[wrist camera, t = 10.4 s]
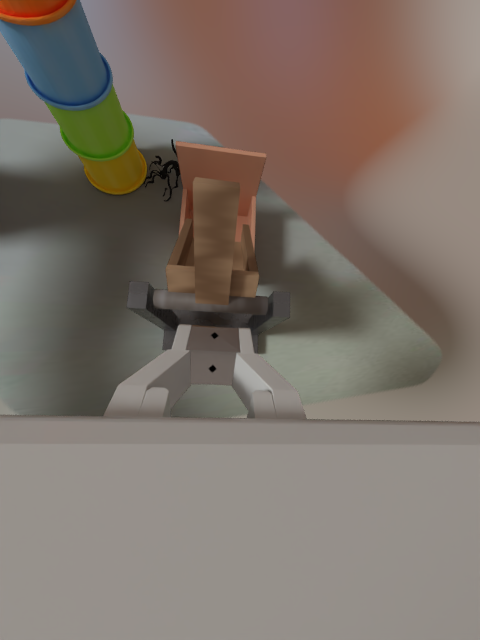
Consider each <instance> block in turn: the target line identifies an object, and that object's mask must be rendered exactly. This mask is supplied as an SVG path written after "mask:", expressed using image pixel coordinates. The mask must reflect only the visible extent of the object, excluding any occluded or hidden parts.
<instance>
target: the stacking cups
mask: <svg viewBox="0 0 480 640" xmlns="http://www.w3.org/2000/svg"><path fill="white" fill-rule="evenodd" d="M0 32H1V33H2V35H3V37H4V38H5V40H6V41H7V43H8V44H9V46H10V47H11V49H12V51H13V52H14V54H15V55H16V57H17V58H18V60H19V62H20V63H21V64H22V66H23V68H24V69H25V77H26V80H27V83H28V85H29V86H30V88H31V89H32V91H33V92H34V93H35V94H36V95H37V96H38V97H39V98H40V99H42V100H43V101H44V102H45V104H46V105H47V107H48V108H49V110H50V111H51V113H52V115H53V116H54V118H55V119H56V121H57V122H58V124H59V126H60V133H61V136H62V139H63V141H64V142H65V144H66V145H67V146H68V148H69V149H70V150H71V151H73V152H74V153H75V154H77V155H78V157H79V158H80V160H81V161H82V163H83V164H84V171H85V174H86V176H87V178H88V180H89V181H90V182H91V183H92V184H93V186H95V187H96V188H97V189H99V190H101V191H103V192H105V193H108V194H114V195H122V194H127V193H130V192H133V191H135V190H136V189H137V188H139V187H140V186H141V185H142V183H143V182H144V180H145V178H146V175H147V164H146V161H145V159H144V157H143V155H142V154H141V152H140V151H139V150H138V149H137V147H136V145H135V142H134V139H133V138H134V129H133V126H132V123H131V121H130V119H129V117H128V116H127V115H126V113H125V112H124V111H123V110H122V109H121V106H120V103H119V100H118V98H117V95H116V92H115V89H114V87H113V84H112V83H113V77H112V72H111V68H110V66H109V64H108V62H107V60H106V59H105V58H104V56H103V55H102V54H101V53H99V50H98V48H97V45H96V42H95V40H94V37H93V34H92V32H91V29H90V26H89V24H88V21H87V18H86V16H85V13H84V10H83V8H82V5H81V2H80V0H0Z"/></svg>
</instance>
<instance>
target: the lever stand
mask: <svg viewBox="0 0 480 640" xmlns="http://www.w3.org/2000/svg"><path fill="white" fill-rule="evenodd" d="M154 291H155V289H154V288H153V287H152V286H151V285H150V283H149V282H135V281H130V284H129V292H128V300H127V308H128V309H130V310H131V311H133V312H135V313H136V314H138V315H140V316H142V317H143V318H145V319H147V320H148V321H150V322H152V323H153V324H155V325H157V326H158V327H160V328H162V329H163V330H164V340H163V350H168V349H169V350H171V349H172V346H173V342H174V339H175V335H176V332H177V328H178V326H179V324H186V325H200V326H212V327H225V328H250V329H251V335H252V342H253V348H254V353H255V354H258V335H259V334H260V333H262V332H264V331H266V330H268V329H270V328H271V327H273V326H275V325H277V324H279V323H281V322H282V321H284V320H286V319H288V318H290V293H288V292H273V293H272V294H271V295H270V296H269V297H268V309H267V313H266V315H255V314H239V313H222V312H206V311H189V310H172V309H156V308H154V305H153V295H154Z"/></svg>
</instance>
